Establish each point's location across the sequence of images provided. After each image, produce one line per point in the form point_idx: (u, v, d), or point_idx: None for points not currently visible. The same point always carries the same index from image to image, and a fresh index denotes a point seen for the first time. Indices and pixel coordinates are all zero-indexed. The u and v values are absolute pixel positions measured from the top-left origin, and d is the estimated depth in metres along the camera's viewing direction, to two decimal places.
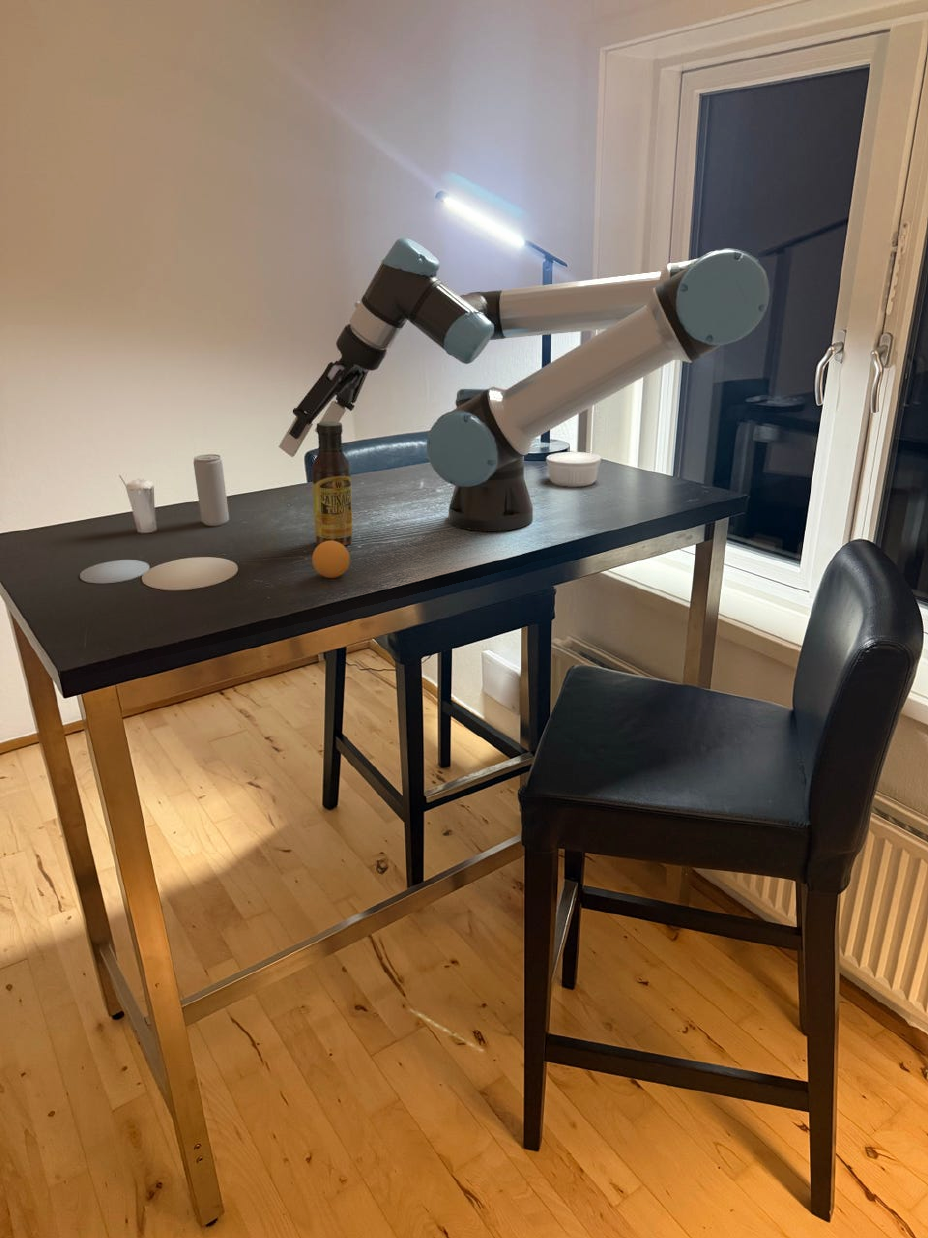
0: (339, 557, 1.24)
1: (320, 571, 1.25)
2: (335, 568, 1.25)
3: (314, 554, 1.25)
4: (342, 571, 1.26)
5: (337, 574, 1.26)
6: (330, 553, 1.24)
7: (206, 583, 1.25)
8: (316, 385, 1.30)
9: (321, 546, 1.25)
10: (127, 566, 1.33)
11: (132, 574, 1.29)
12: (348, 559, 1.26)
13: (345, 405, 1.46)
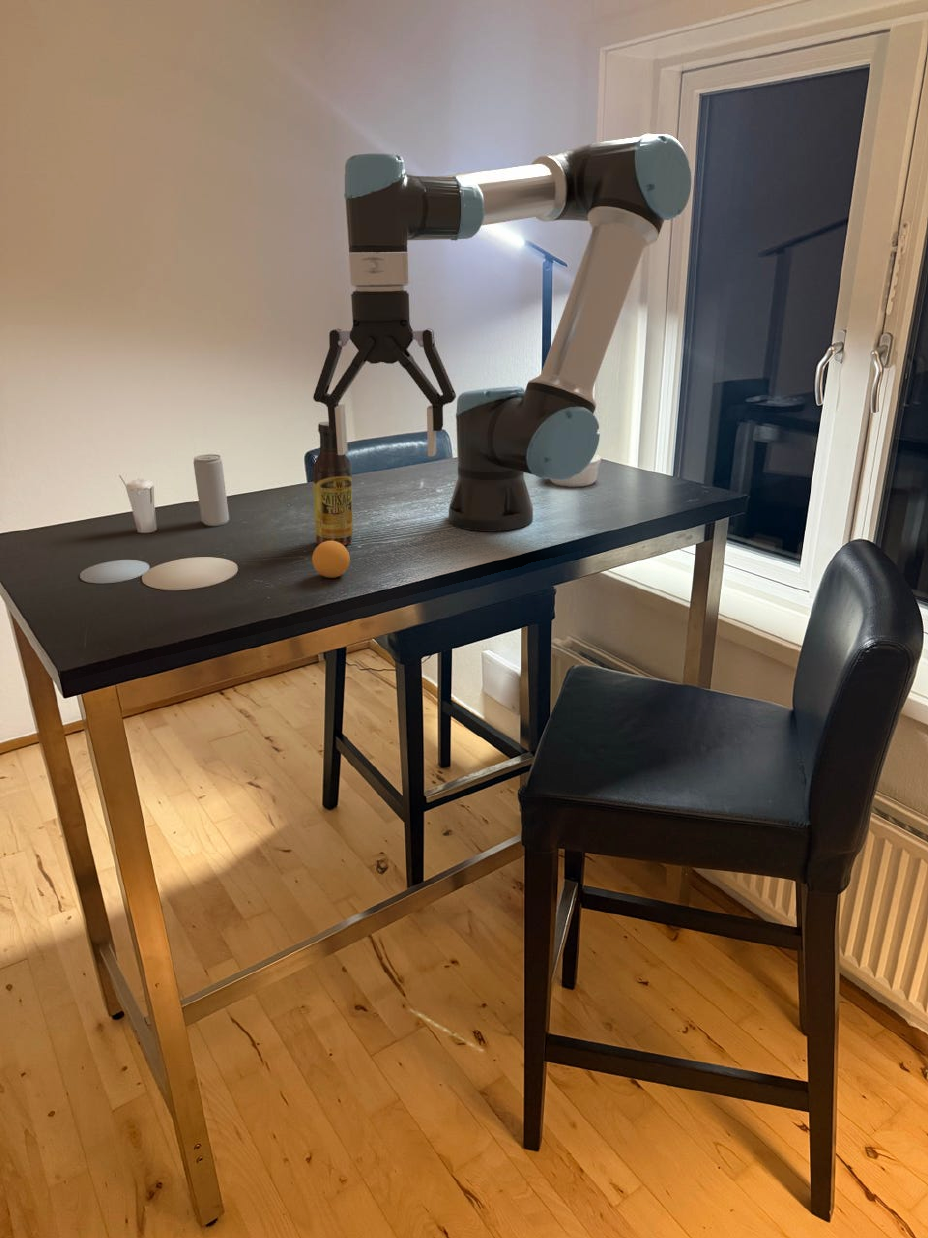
0: (339, 557, 1.24)
1: (320, 571, 1.25)
2: (335, 568, 1.25)
3: (314, 554, 1.25)
4: (342, 571, 1.26)
5: (337, 574, 1.26)
6: (330, 553, 1.24)
7: (206, 583, 1.25)
8: (438, 361, 1.13)
9: (321, 546, 1.25)
10: (127, 566, 1.33)
11: (132, 574, 1.29)
12: (348, 559, 1.26)
13: (339, 400, 1.18)
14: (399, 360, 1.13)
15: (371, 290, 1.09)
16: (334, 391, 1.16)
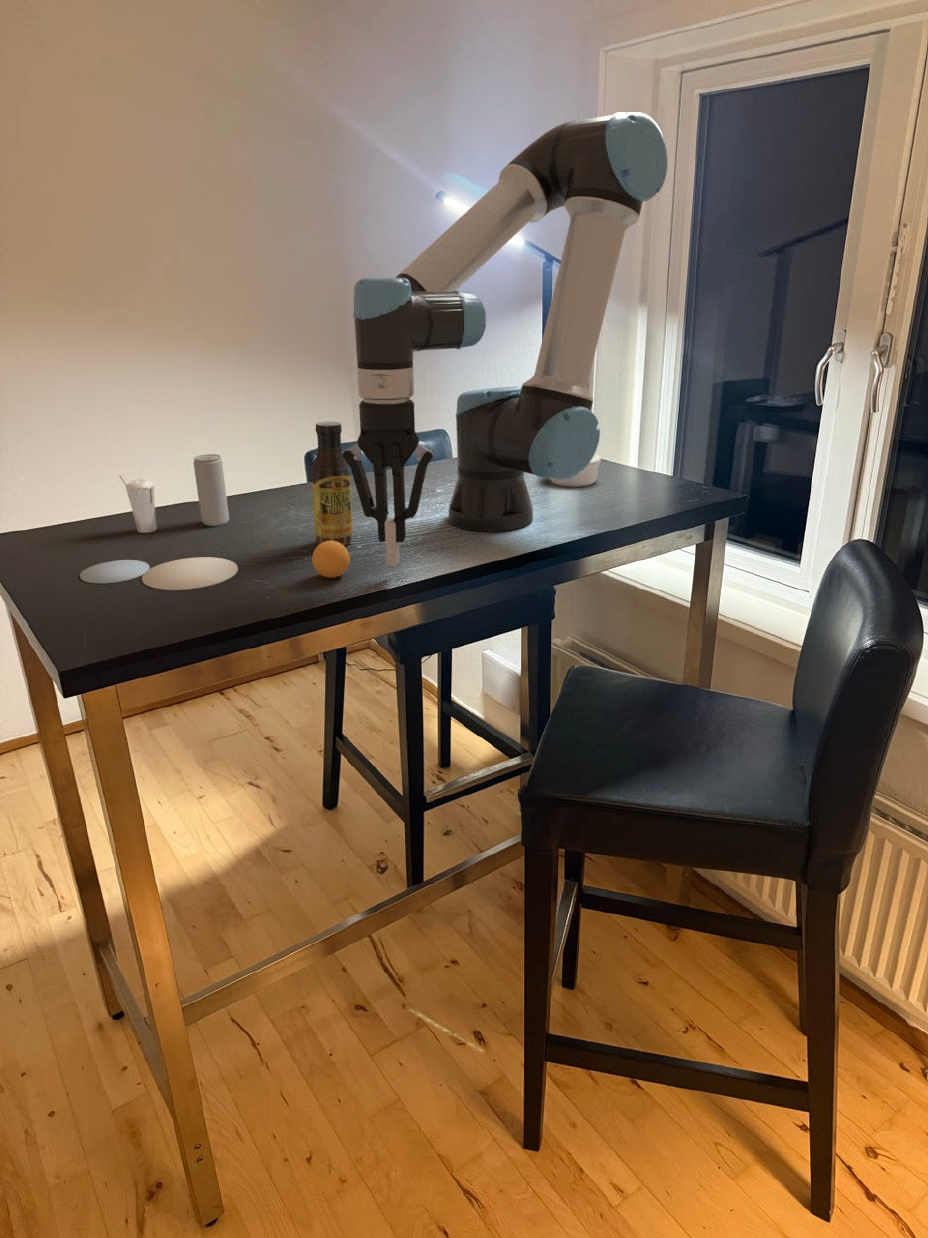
0: (339, 557, 1.24)
1: (320, 571, 1.25)
2: (335, 568, 1.25)
3: (314, 554, 1.25)
4: (342, 571, 1.26)
5: (337, 574, 1.26)
6: (330, 553, 1.24)
7: (206, 583, 1.25)
8: (422, 481, 1.20)
9: (321, 546, 1.25)
10: (127, 566, 1.33)
11: (132, 574, 1.29)
12: (348, 559, 1.26)
13: (387, 511, 1.24)
14: (393, 468, 1.19)
15: (378, 403, 1.14)
16: (377, 507, 1.21)
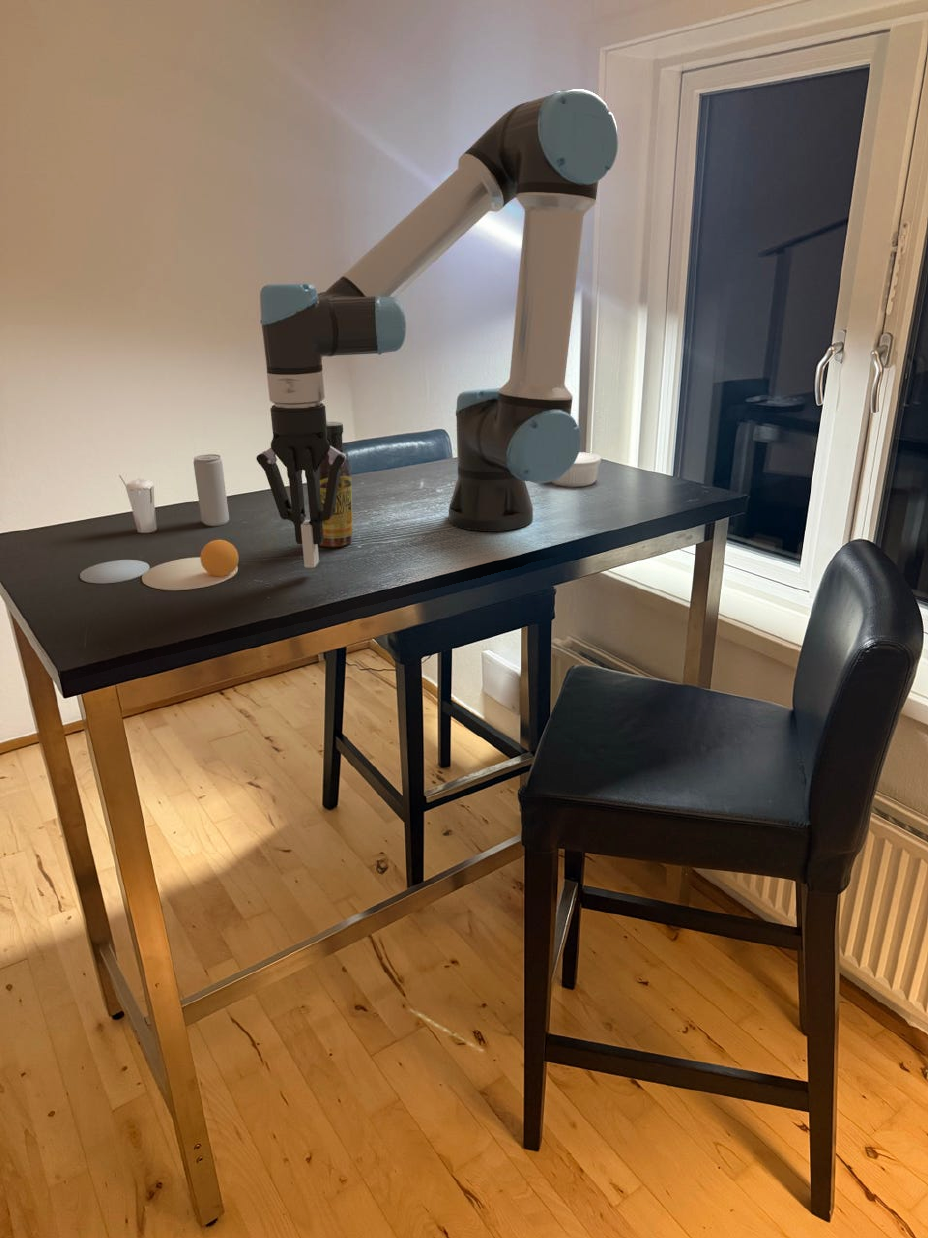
0: (227, 560, 1.26)
1: (205, 567, 1.26)
2: (220, 569, 1.26)
3: (204, 549, 1.26)
4: (226, 573, 1.27)
5: (220, 575, 1.27)
6: (220, 554, 1.25)
7: (206, 583, 1.25)
8: (336, 483, 1.21)
9: (213, 544, 1.26)
10: (127, 566, 1.33)
11: (132, 574, 1.29)
12: (236, 564, 1.28)
13: (304, 513, 1.25)
14: (306, 471, 1.20)
15: (288, 407, 1.15)
16: (293, 509, 1.23)
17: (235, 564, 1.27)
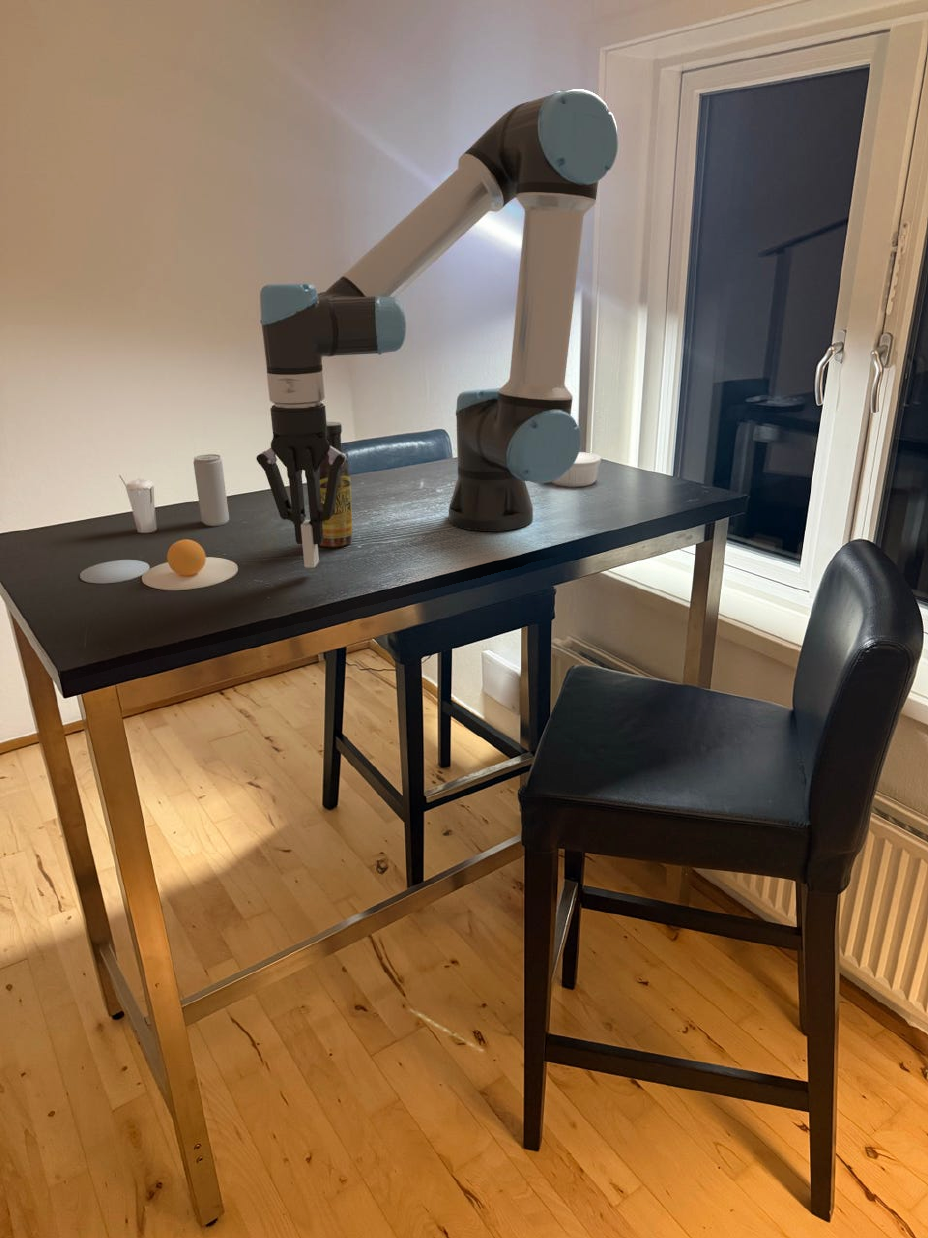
0: (174, 550, 1.26)
1: (189, 570, 1.27)
2: (183, 556, 1.26)
3: (177, 573, 1.28)
4: (191, 549, 1.26)
5: (193, 554, 1.26)
6: (170, 558, 1.26)
7: (206, 583, 1.25)
8: (336, 483, 1.21)
9: (169, 565, 1.28)
10: (127, 566, 1.33)
11: (132, 574, 1.29)
12: (183, 541, 1.27)
13: (304, 513, 1.25)
14: (306, 471, 1.20)
15: (288, 407, 1.15)
16: (293, 509, 1.23)
17: (182, 542, 1.27)
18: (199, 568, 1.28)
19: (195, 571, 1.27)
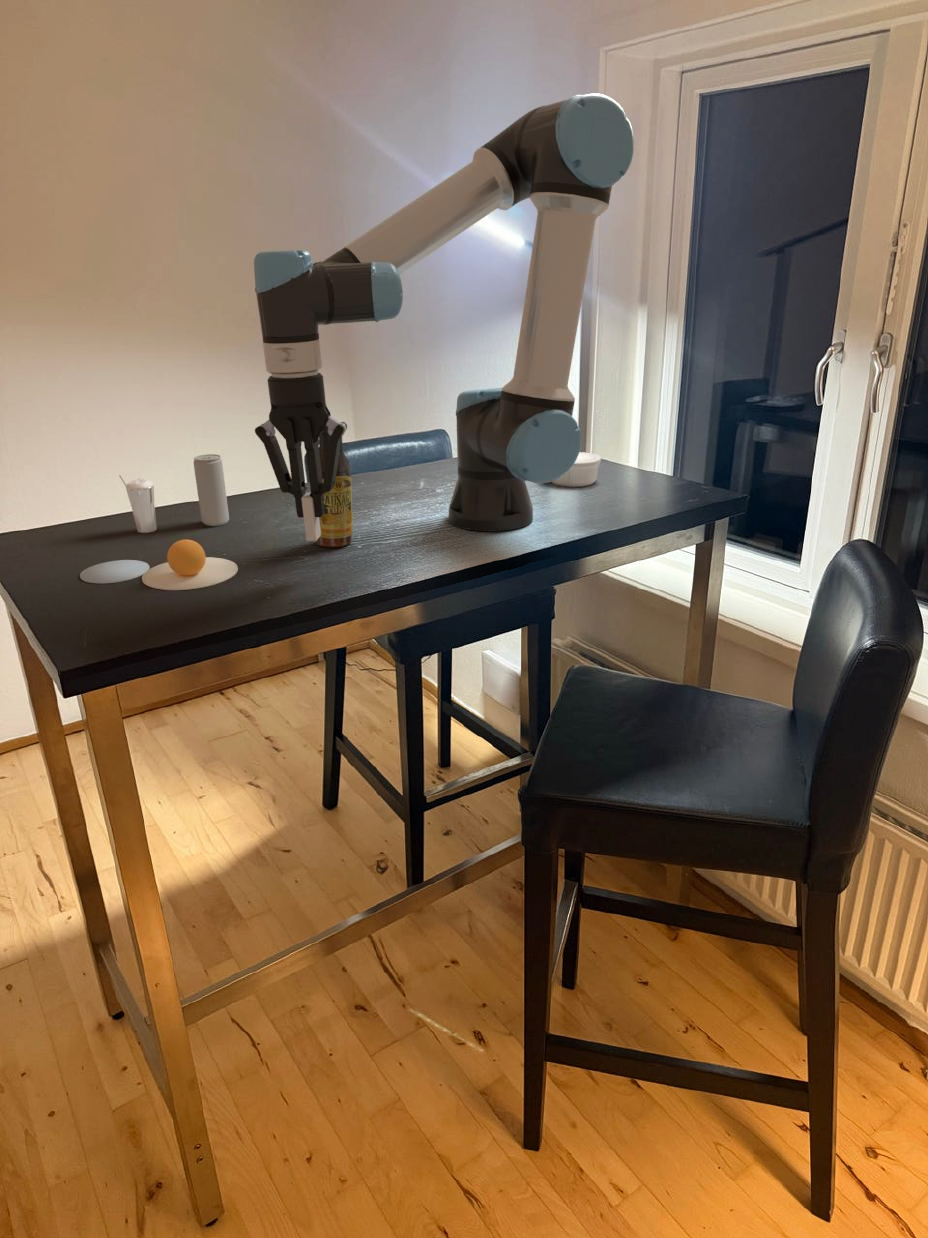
0: (174, 550, 1.26)
1: (189, 570, 1.27)
2: (183, 556, 1.26)
3: (177, 573, 1.28)
4: (191, 549, 1.26)
5: (193, 554, 1.26)
6: (170, 558, 1.26)
7: (206, 583, 1.25)
8: (336, 454, 1.20)
9: (169, 565, 1.28)
10: (127, 566, 1.33)
11: (132, 574, 1.29)
12: (183, 541, 1.27)
13: (305, 486, 1.24)
14: (305, 442, 1.18)
15: (285, 377, 1.14)
16: (293, 482, 1.22)
17: (182, 542, 1.27)
18: (199, 568, 1.28)
19: (195, 571, 1.27)
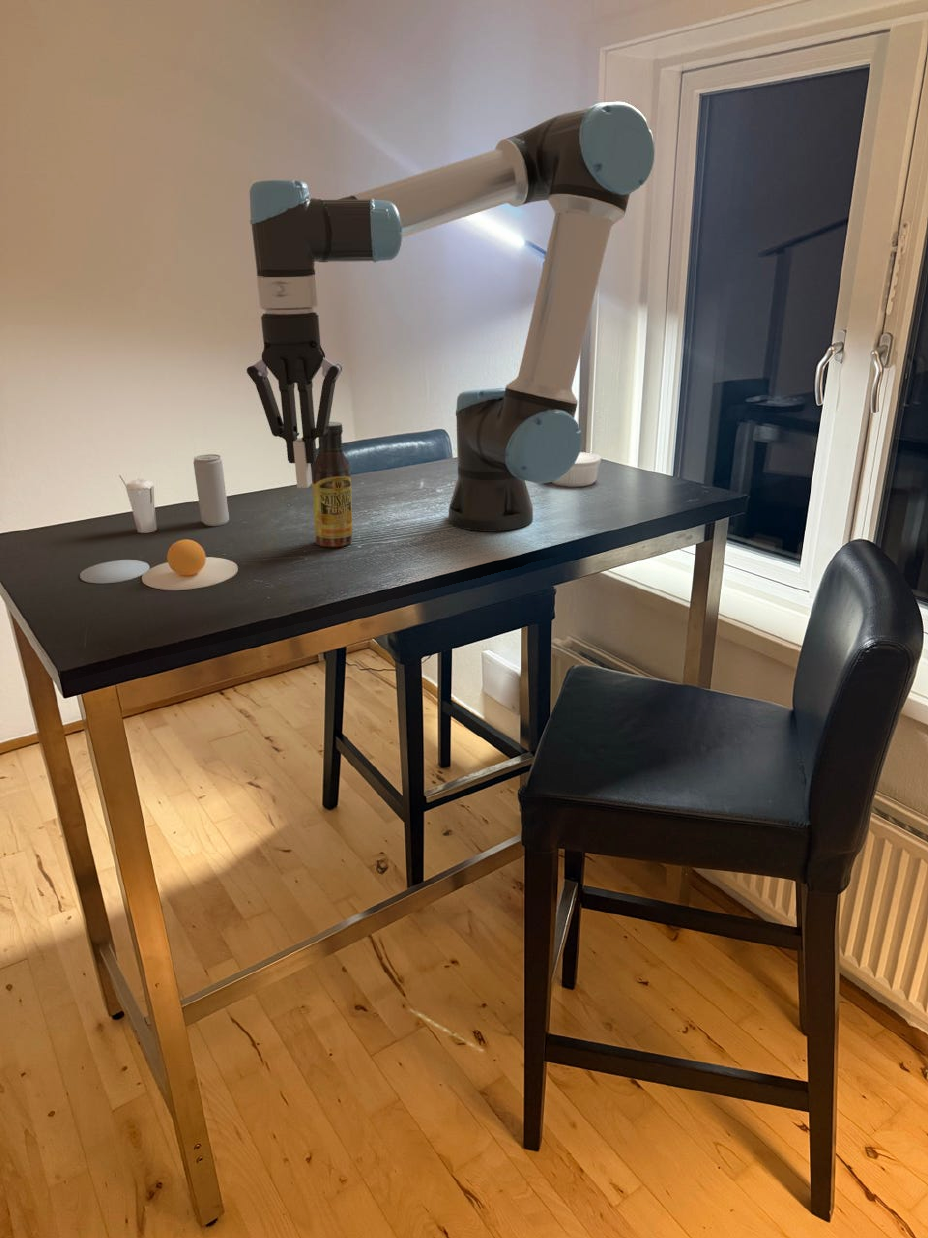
0: (174, 550, 1.26)
1: (189, 570, 1.27)
2: (183, 556, 1.26)
3: (177, 573, 1.28)
4: (191, 549, 1.26)
5: (193, 554, 1.26)
6: (170, 558, 1.26)
7: (206, 583, 1.25)
8: (329, 397, 1.16)
9: (169, 565, 1.28)
10: (127, 566, 1.33)
11: (132, 574, 1.29)
12: (183, 541, 1.27)
13: (297, 431, 1.20)
14: (298, 383, 1.15)
15: (279, 313, 1.11)
16: (285, 425, 1.18)
17: (182, 542, 1.27)
18: (199, 568, 1.28)
19: (195, 571, 1.27)
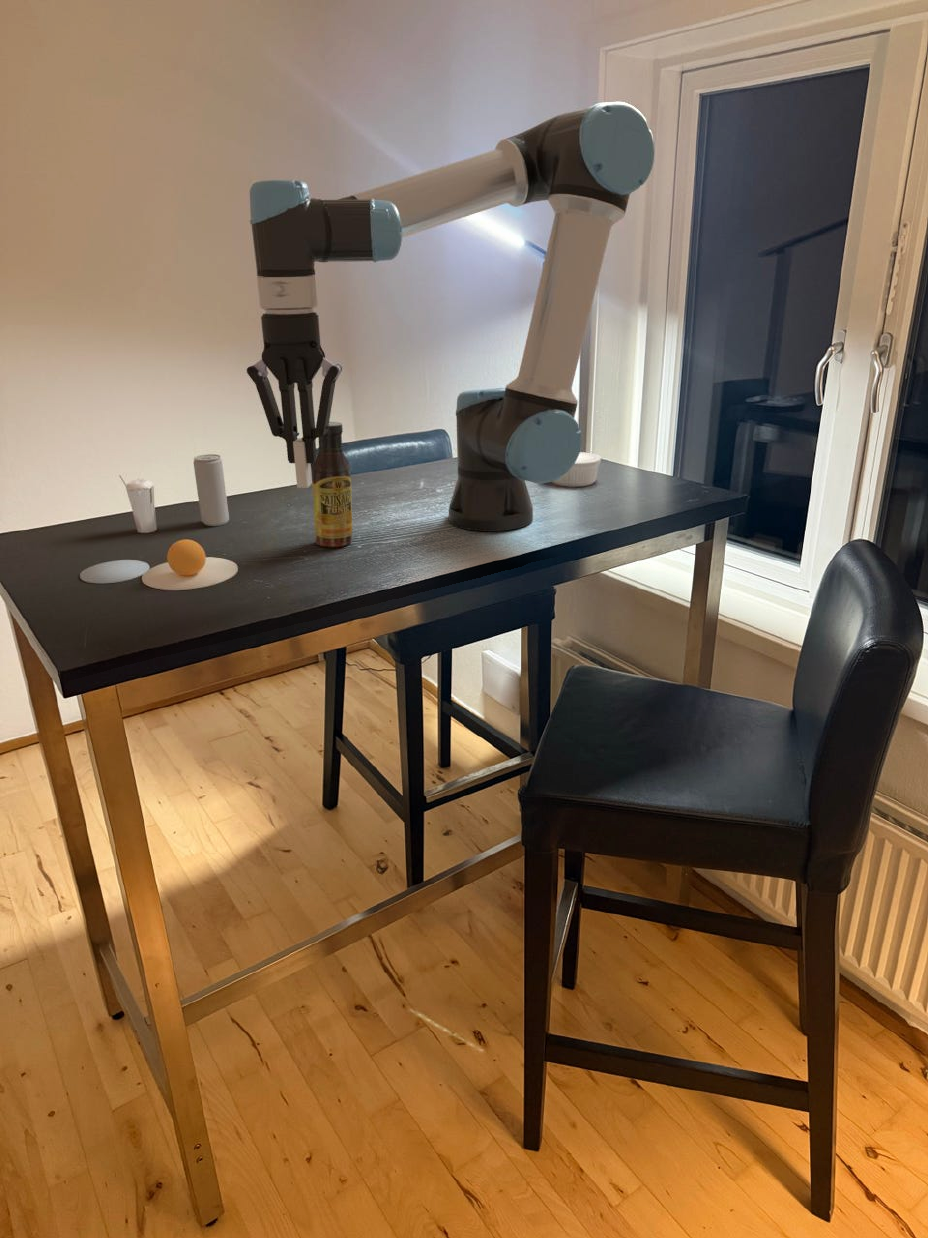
0: (174, 550, 1.26)
1: (189, 570, 1.27)
2: (183, 556, 1.26)
3: (177, 573, 1.28)
4: (191, 549, 1.26)
5: (193, 554, 1.26)
6: (170, 558, 1.26)
7: (206, 583, 1.25)
8: (329, 397, 1.16)
9: (169, 565, 1.28)
10: (127, 566, 1.33)
11: (132, 574, 1.29)
12: (183, 541, 1.27)
13: (297, 431, 1.20)
14: (298, 383, 1.15)
15: (279, 313, 1.11)
16: (285, 425, 1.18)
17: (182, 542, 1.27)
18: (199, 568, 1.28)
19: (195, 571, 1.27)
